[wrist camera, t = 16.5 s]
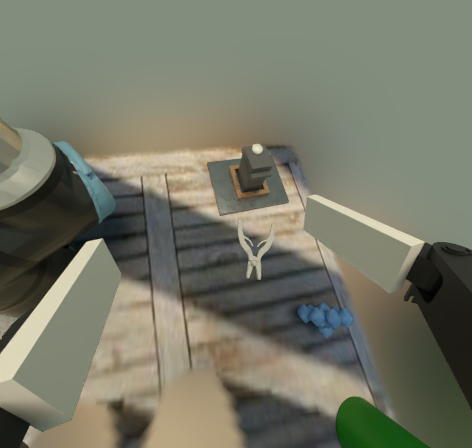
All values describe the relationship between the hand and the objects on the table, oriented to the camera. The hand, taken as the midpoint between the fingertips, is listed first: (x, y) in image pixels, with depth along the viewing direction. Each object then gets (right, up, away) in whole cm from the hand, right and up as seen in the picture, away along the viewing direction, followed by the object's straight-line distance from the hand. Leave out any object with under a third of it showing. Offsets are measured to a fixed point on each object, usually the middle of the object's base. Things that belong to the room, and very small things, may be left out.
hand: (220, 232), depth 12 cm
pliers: (+6, -6, +35) cm, 36 cm away
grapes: (+18, -21, +31) cm, 42 cm away
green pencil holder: (+26, -41, +26) cm, 55 cm away
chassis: (+4, +12, +40) cm, 42 cm away
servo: (+5, +12, +39) cm, 41 cm away
